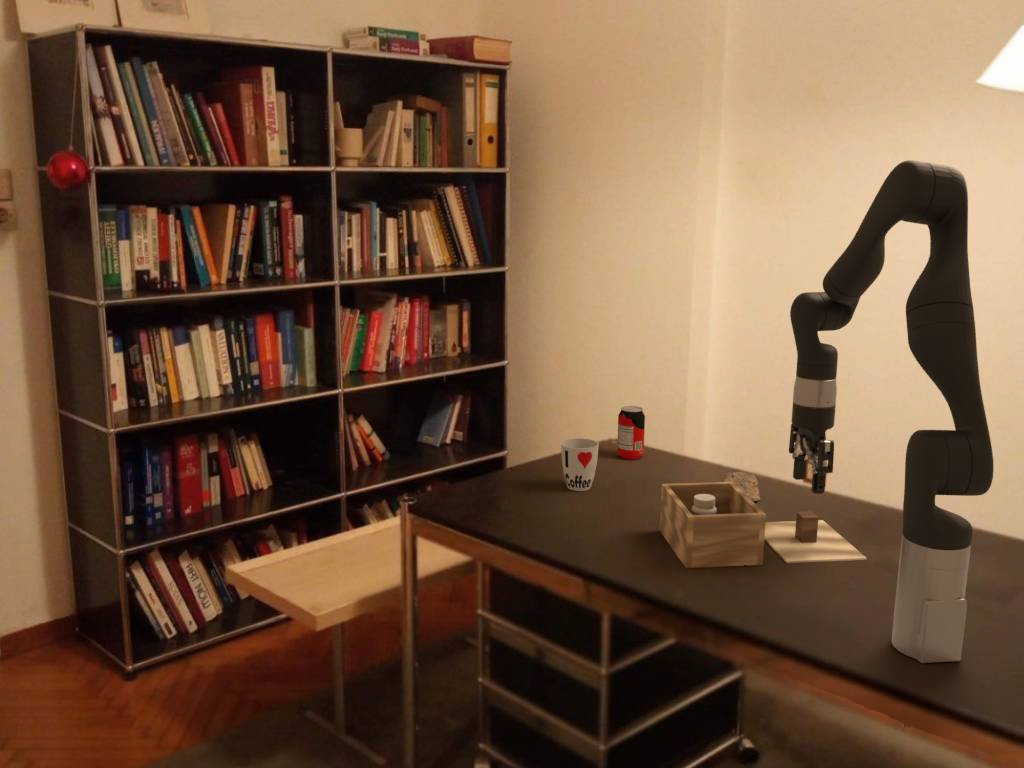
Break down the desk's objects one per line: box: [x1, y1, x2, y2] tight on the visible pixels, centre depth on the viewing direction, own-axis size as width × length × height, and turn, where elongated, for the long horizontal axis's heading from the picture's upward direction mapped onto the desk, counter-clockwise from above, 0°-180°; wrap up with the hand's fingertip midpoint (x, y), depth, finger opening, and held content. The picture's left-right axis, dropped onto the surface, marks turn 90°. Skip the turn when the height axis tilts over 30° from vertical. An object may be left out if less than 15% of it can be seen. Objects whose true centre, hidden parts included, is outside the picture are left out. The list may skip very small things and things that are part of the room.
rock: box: [720, 471, 761, 502], centre depth 213 cm, size 9×6×10 cm
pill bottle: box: [691, 494, 717, 515], centre depth 188 cm, size 5×5×8 cm
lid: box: [764, 511, 867, 564], centre depth 187 cm, size 19×15×6 cm
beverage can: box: [616, 405, 646, 461], centre depth 238 cm, size 6×6×12 cm
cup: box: [560, 437, 600, 492], centre depth 217 cm, size 8×8×10 cm
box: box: [659, 481, 767, 569], centre depth 184 cm, size 18×14×10 cm
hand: (808, 485), depth 185 cm, fingers open, 8 cm apart
